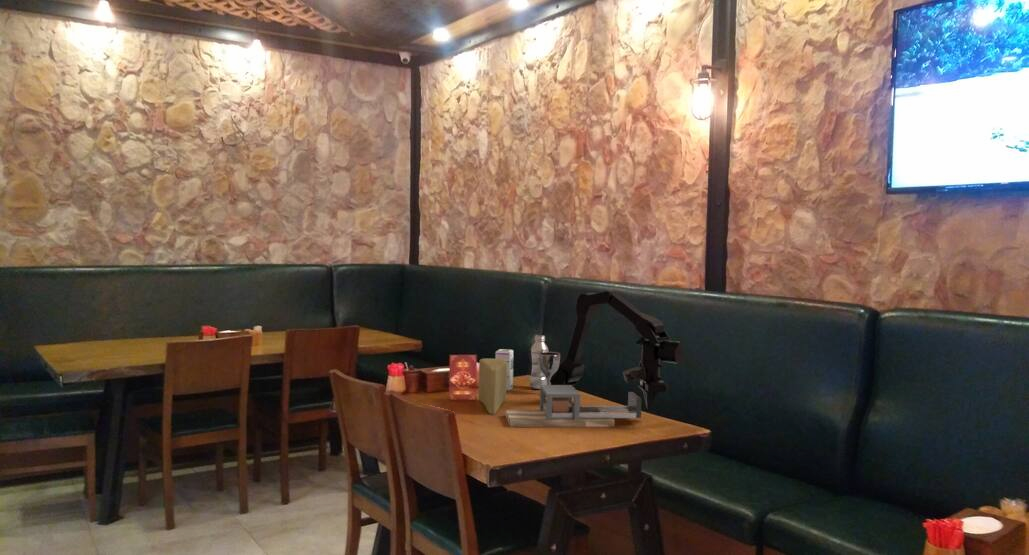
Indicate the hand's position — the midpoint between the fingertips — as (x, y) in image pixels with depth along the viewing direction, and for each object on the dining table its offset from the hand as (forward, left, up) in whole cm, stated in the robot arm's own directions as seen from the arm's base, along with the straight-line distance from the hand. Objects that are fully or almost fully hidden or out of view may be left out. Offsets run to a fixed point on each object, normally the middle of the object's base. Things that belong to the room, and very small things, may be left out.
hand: (648, 408), depth 250 cm
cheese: (-19, -48, -4) cm, 52 cm away
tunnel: (0, -29, -2) cm, 29 cm away
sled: (0, -19, -2) cm, 19 cm away
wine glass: (-40, -26, -4) cm, 48 cm away
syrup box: (-50, -41, -4) cm, 65 cm away
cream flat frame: (0, -29, -4) cm, 29 cm away
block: (0, -29, -2) cm, 29 cm away
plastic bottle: (-50, -28, -4) cm, 57 cm away
